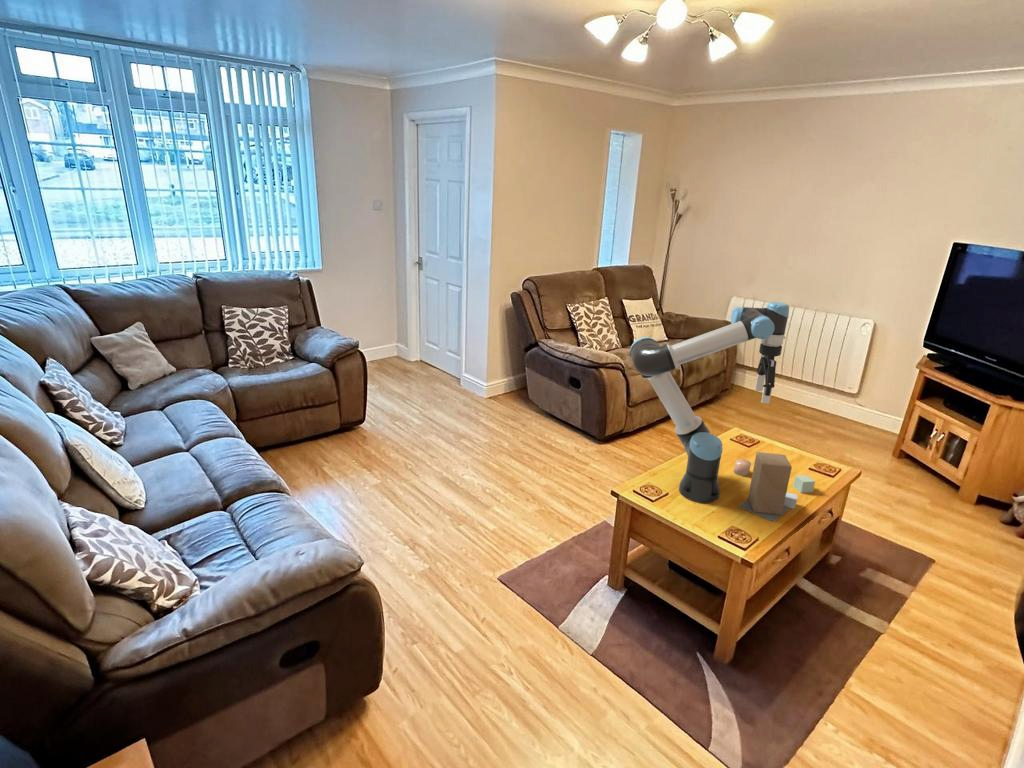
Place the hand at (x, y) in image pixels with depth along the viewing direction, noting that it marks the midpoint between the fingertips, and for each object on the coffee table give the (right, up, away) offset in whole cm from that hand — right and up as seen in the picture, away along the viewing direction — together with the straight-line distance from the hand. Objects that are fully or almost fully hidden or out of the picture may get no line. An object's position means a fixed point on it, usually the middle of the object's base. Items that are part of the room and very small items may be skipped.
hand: (761, 396), depth 211 cm
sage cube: (+19, -37, +6) cm, 42 cm away
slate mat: (-3, -42, -8) cm, 42 cm away
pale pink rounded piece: (0, -33, +18) cm, 37 cm away
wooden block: (-3, -41, -8) cm, 42 cm away
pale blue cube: (+8, -41, -5) cm, 42 cm away
